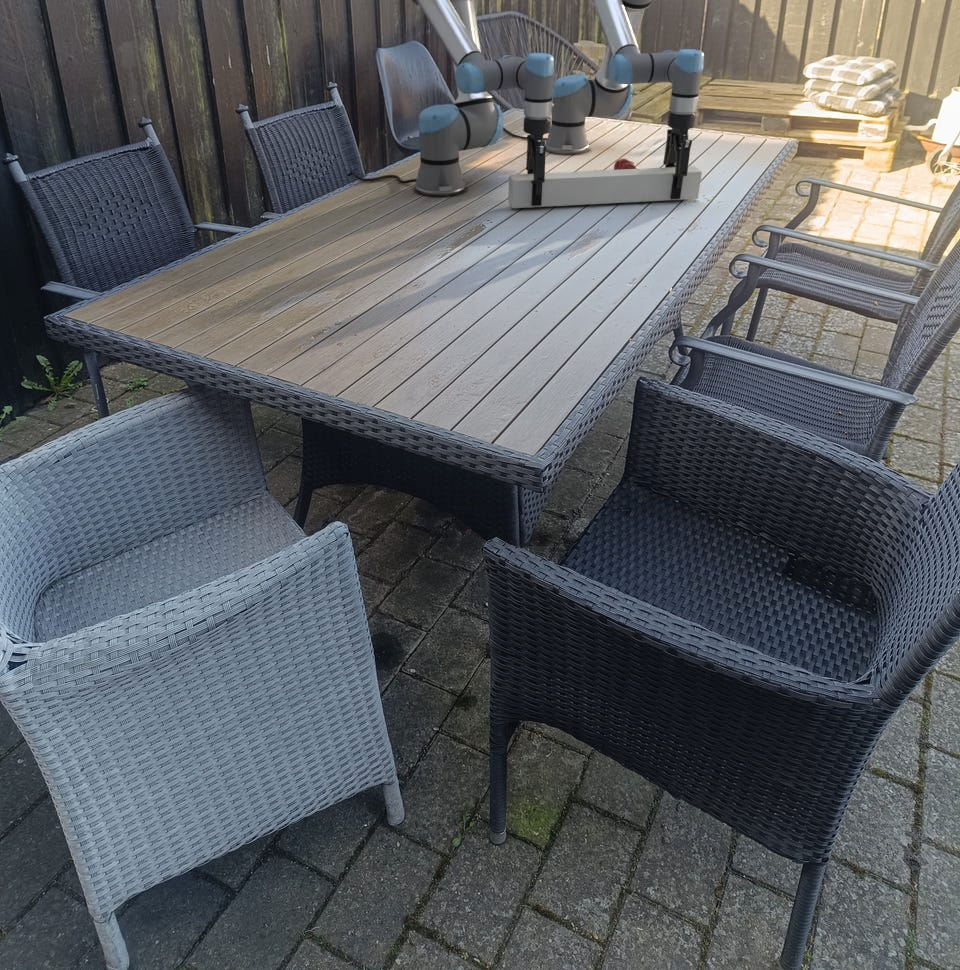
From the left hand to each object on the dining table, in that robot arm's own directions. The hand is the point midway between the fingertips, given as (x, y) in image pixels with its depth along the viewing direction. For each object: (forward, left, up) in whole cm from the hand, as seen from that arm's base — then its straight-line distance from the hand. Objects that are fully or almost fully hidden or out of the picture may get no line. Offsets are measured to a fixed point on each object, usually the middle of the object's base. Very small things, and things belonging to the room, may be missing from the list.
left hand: (534, 201), depth 244 cm
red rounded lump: (+3, +47, -1) cm, 47 cm away
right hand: (+28, +31, 0) cm, 42 cm away
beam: (+14, +16, -1) cm, 21 cm away
